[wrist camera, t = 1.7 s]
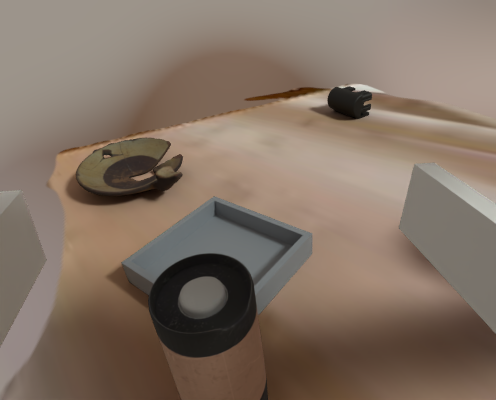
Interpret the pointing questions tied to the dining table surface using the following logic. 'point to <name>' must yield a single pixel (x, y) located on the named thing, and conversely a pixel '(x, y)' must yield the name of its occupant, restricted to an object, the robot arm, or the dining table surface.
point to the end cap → (349, 101)
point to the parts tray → (226, 247)
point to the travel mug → (210, 328)
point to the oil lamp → (128, 168)
